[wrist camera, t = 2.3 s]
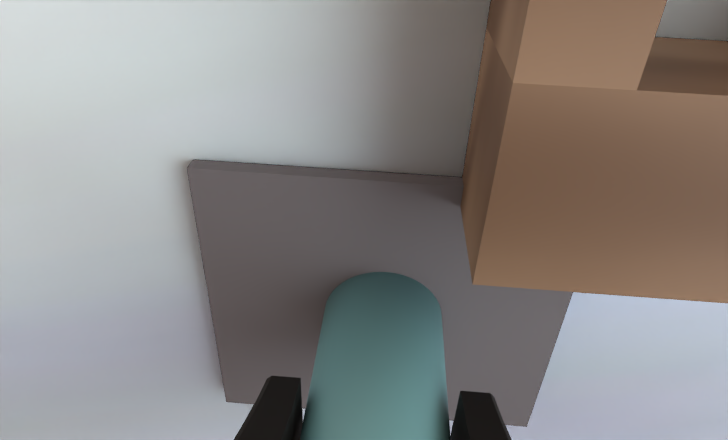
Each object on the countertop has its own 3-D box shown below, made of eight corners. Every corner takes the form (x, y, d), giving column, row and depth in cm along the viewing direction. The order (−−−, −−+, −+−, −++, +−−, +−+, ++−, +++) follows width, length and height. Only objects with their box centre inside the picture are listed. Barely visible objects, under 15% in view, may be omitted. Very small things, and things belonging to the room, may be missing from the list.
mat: (524, 414, 16) (526, 426, 16) (229, 391, 16) (226, 401, 16) (600, 186, 12) (605, 196, 11) (193, 159, 12) (186, 168, 12)
